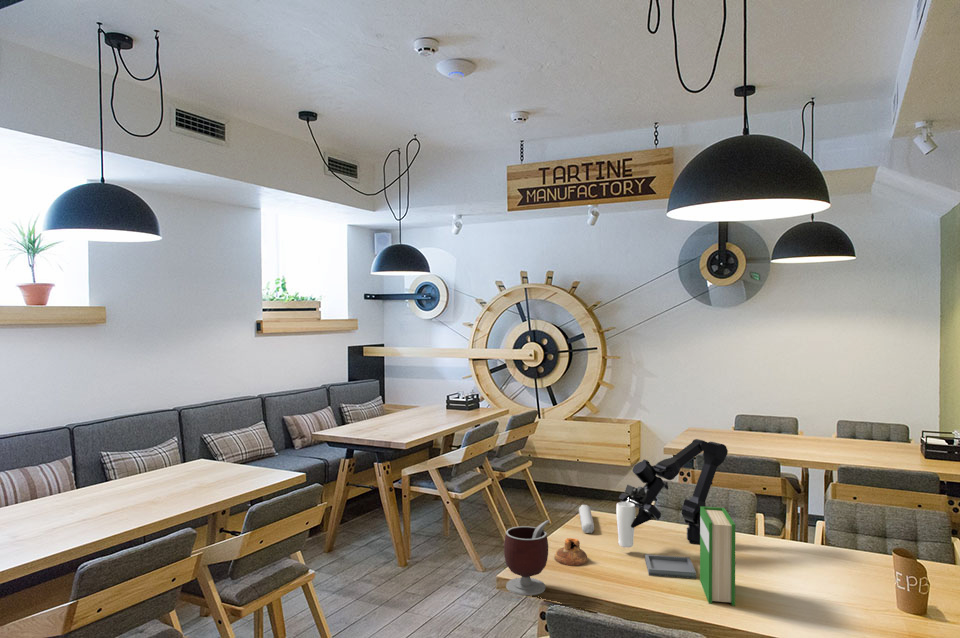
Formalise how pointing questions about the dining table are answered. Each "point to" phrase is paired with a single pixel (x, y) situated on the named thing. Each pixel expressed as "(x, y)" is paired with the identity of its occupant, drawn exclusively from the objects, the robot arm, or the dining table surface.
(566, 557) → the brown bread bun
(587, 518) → the tube
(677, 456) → the robot arm
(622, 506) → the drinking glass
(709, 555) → the hardback book
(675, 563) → the serving tray
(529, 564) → the mate gourd
